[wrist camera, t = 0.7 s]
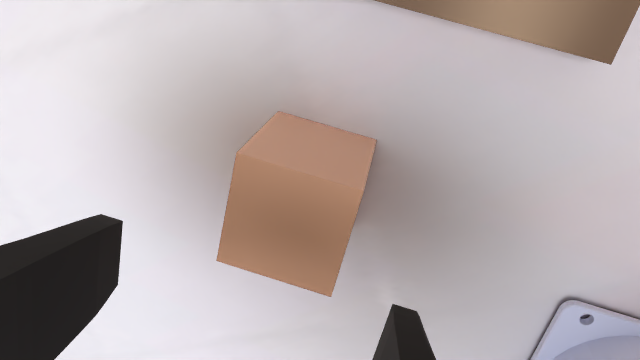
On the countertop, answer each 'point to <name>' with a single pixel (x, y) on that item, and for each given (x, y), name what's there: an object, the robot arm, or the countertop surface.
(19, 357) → the robot arm
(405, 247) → the countertop surface
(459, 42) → the countertop surface
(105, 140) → the countertop surface
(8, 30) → the countertop surface
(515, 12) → the walnut board
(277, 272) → the terracotta block
